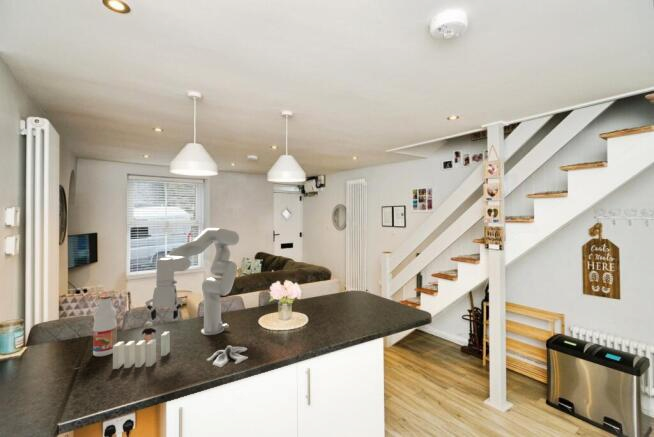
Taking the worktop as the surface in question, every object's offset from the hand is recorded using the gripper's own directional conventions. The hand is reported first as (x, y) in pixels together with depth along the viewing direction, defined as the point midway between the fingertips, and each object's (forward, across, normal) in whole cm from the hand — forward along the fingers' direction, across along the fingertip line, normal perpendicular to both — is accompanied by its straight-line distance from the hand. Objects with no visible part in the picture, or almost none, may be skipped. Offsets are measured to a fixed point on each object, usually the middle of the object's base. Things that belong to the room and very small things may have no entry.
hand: (164, 318), depth 146 cm
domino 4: (+18, +2, +9) cm, 20 cm away
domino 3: (+18, +7, +9) cm, 21 cm away
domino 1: (+18, +16, +9) cm, 25 cm away
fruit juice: (+18, +30, -7) cm, 35 cm away
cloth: (+18, -30, +8) cm, 36 cm away
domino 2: (+18, +11, +9) cm, 23 cm away
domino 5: (+17, 0, -1) cm, 17 cm away
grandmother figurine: (+17, +12, -12) cm, 24 cm away
